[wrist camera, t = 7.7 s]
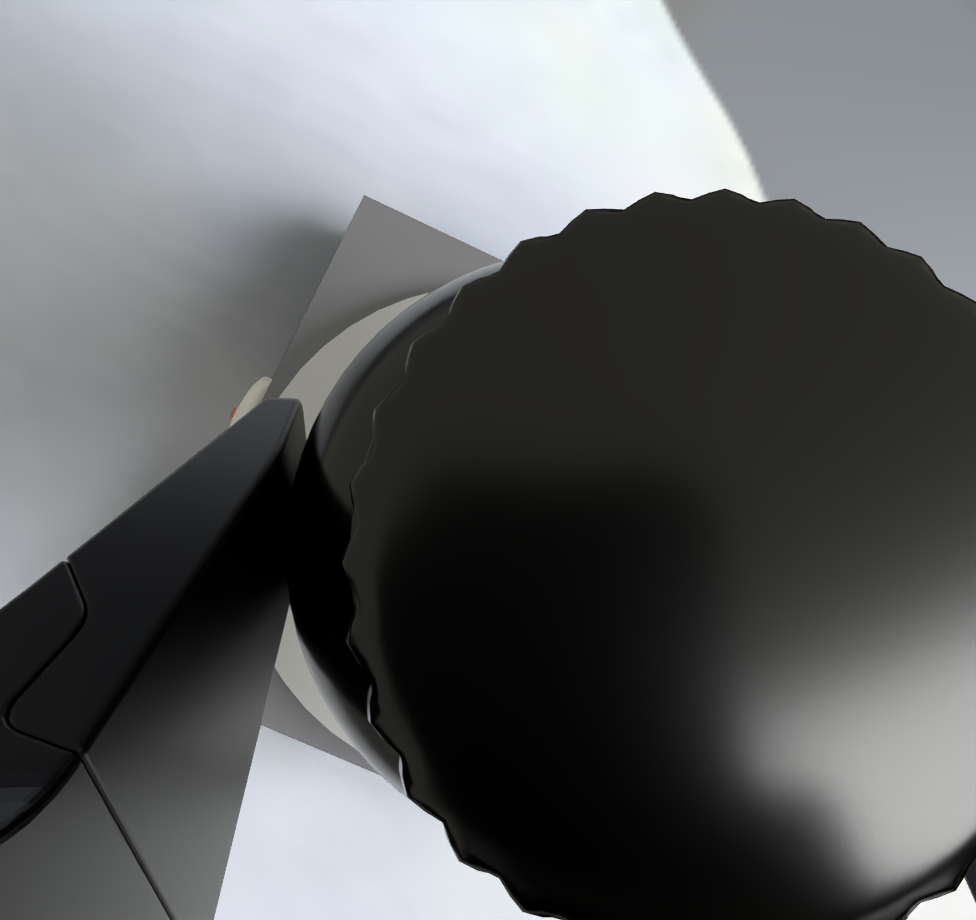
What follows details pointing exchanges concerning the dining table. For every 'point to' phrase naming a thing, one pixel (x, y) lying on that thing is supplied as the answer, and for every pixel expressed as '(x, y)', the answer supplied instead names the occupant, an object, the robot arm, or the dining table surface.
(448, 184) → the dining table surface
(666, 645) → the supplement bottle
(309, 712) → the kitchen scale
